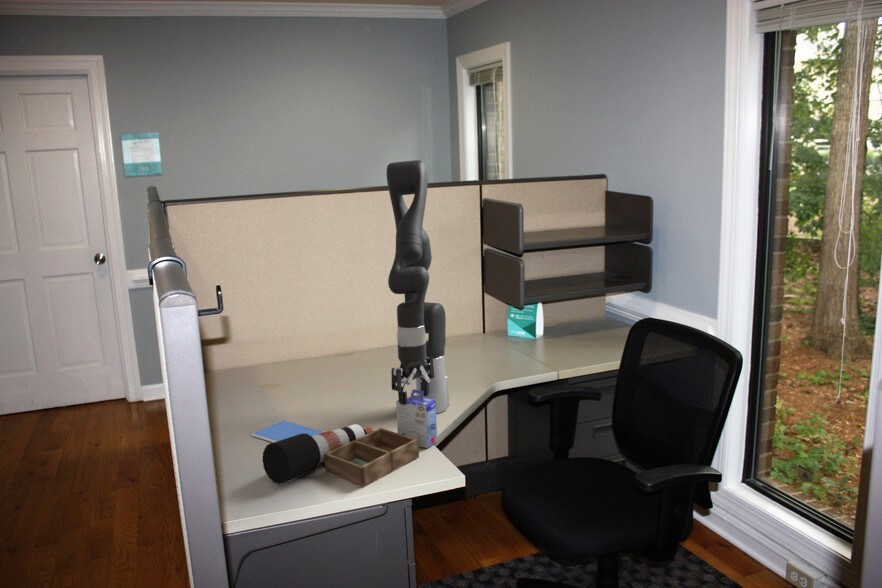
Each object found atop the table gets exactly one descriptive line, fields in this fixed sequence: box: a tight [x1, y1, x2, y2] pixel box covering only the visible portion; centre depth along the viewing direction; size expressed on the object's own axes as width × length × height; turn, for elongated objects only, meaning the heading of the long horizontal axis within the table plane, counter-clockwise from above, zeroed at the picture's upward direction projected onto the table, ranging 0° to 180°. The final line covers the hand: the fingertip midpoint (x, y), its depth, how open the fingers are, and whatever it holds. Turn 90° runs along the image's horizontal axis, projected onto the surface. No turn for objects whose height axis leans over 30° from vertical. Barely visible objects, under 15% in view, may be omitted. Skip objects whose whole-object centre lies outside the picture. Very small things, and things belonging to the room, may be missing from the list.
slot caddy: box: [324, 427, 420, 488], centre depth 185 cm, size 20×14×5 cm
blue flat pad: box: [251, 420, 325, 443], centre depth 207 cm, size 19×13×1 cm, turn 53°
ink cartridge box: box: [395, 389, 438, 449], centre depth 197 cm, size 10×6×14 cm, turn 61°
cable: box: [261, 423, 374, 485], centre depth 189 cm, size 10×34×10 cm, turn 141°
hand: (414, 399), depth 195 cm, fingers open, 8 cm apart
